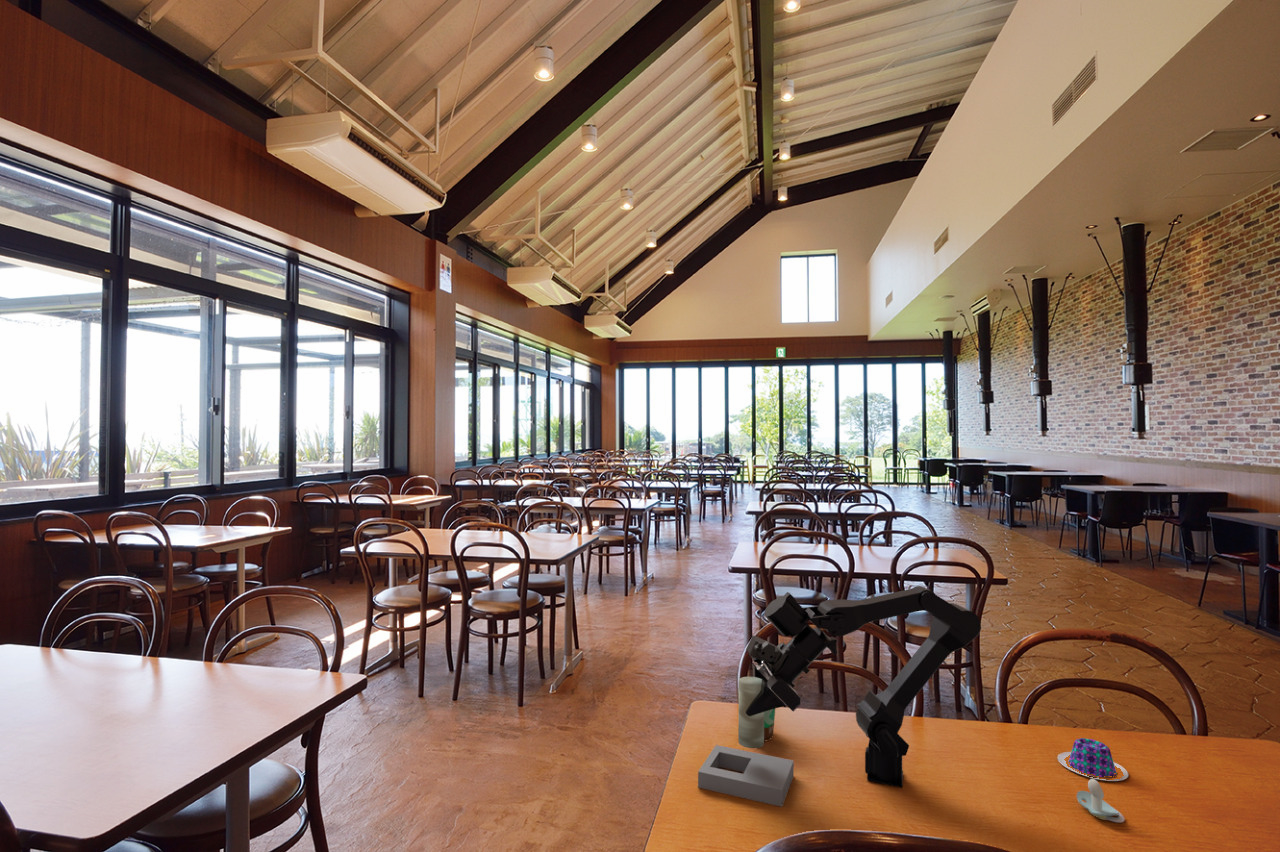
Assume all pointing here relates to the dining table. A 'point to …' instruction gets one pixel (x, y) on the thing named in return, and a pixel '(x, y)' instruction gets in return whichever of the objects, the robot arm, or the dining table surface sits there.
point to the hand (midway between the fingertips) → (744, 708)
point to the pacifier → (1098, 803)
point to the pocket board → (747, 775)
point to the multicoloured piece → (1091, 759)
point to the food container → (769, 724)
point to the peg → (750, 725)
